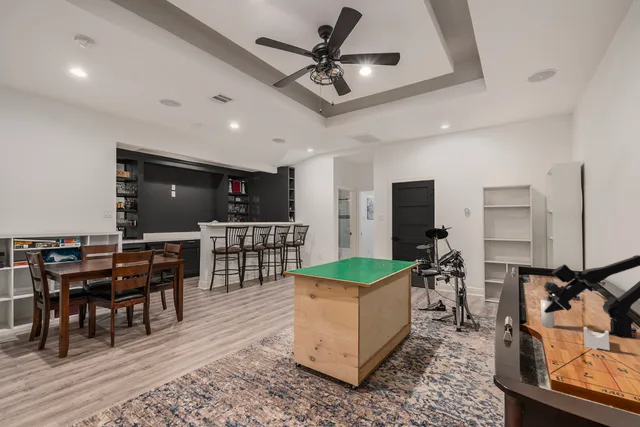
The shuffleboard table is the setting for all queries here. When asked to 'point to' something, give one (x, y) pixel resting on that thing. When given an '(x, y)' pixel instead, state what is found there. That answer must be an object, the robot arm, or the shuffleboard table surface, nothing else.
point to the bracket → (596, 339)
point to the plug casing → (547, 314)
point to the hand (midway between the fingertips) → (543, 310)
